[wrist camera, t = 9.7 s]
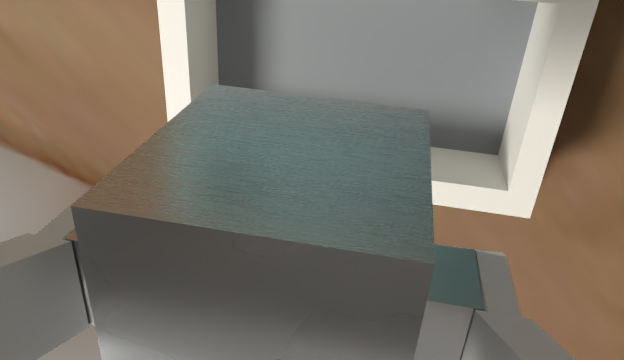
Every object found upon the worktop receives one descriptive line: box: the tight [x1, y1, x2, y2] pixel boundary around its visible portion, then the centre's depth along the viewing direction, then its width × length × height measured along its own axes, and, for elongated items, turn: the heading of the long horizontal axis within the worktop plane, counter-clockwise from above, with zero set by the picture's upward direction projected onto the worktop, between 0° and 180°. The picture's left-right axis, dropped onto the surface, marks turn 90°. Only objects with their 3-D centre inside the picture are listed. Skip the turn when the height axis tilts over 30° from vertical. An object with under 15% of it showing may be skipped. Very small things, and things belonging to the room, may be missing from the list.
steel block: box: [71, 84, 435, 360], centre depth 9 cm, size 4×4×5 cm
